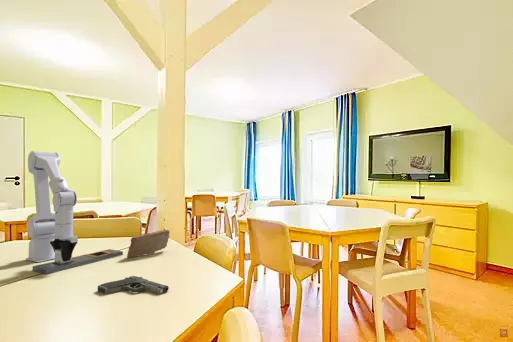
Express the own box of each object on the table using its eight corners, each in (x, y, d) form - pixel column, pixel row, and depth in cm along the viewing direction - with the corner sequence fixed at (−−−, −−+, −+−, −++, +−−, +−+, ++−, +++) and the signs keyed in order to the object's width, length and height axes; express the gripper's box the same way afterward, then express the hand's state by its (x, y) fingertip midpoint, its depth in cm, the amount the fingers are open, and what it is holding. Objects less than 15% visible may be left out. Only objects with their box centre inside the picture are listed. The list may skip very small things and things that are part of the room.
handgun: (132, 297, 76) (170, 283, 85) (97, 284, 85) (134, 273, 95) (132, 307, 75) (170, 292, 85) (97, 293, 85) (134, 280, 95)
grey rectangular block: (54, 266, 109) (54, 249, 109) (65, 263, 113) (66, 247, 113) (60, 267, 107) (60, 250, 107) (71, 264, 111) (72, 248, 111)
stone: (125, 258, 123) (129, 261, 120) (125, 236, 122) (129, 238, 119) (166, 247, 136) (170, 250, 133) (166, 227, 135) (171, 230, 132)
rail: (32, 270, 105) (32, 265, 105) (109, 252, 131) (109, 248, 131) (45, 274, 101) (46, 269, 101) (122, 254, 127) (122, 250, 127)
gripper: (41, 223, 110) (41, 260, 110) (63, 226, 103) (62, 265, 103) (61, 221, 116) (61, 255, 116) (83, 223, 110) (82, 260, 109)
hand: (63, 260), depth 110 cm, fingers closed on grey rectangular block, 4 cm apart
